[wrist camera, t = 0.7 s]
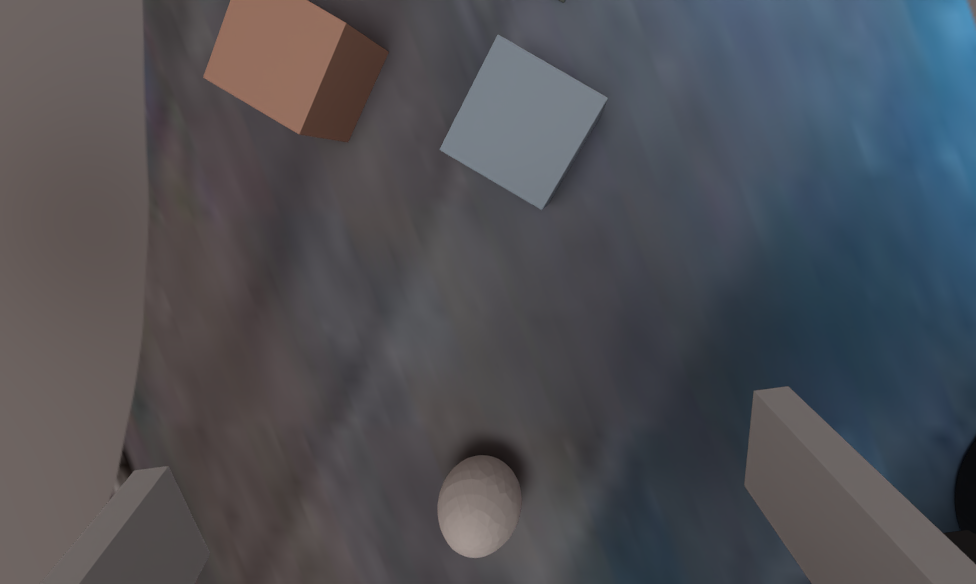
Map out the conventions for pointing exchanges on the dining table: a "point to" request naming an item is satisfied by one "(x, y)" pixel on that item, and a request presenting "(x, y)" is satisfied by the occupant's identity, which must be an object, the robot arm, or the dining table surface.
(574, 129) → the block
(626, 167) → the dining table surface
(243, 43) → the block
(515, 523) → the egg
